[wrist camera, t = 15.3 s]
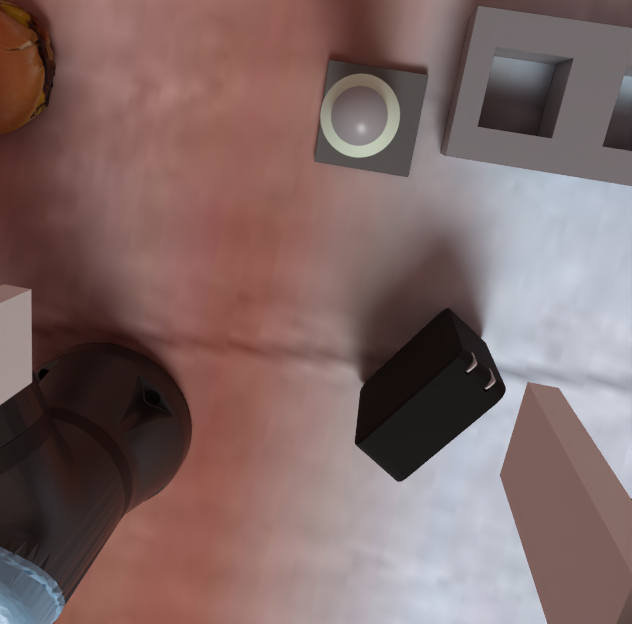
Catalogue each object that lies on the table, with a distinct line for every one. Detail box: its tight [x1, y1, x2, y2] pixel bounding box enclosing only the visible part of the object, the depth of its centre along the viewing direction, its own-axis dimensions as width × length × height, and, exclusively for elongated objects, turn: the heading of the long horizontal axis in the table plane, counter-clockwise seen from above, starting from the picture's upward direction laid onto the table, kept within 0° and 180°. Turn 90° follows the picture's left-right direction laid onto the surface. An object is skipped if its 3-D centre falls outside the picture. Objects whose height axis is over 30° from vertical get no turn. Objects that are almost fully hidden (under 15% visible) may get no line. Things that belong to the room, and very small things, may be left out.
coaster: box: [314, 60, 428, 177], centre depth 41 cm, size 7×7×1 cm
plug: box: [320, 74, 400, 158], centre depth 35 cm, size 4×4×14 cm
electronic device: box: [355, 308, 506, 482], centre depth 42 cm, size 4×10×10 cm, turn 138°
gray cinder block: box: [441, 6, 632, 186], centre depth 38 cm, size 16×9×4 cm, turn 81°
